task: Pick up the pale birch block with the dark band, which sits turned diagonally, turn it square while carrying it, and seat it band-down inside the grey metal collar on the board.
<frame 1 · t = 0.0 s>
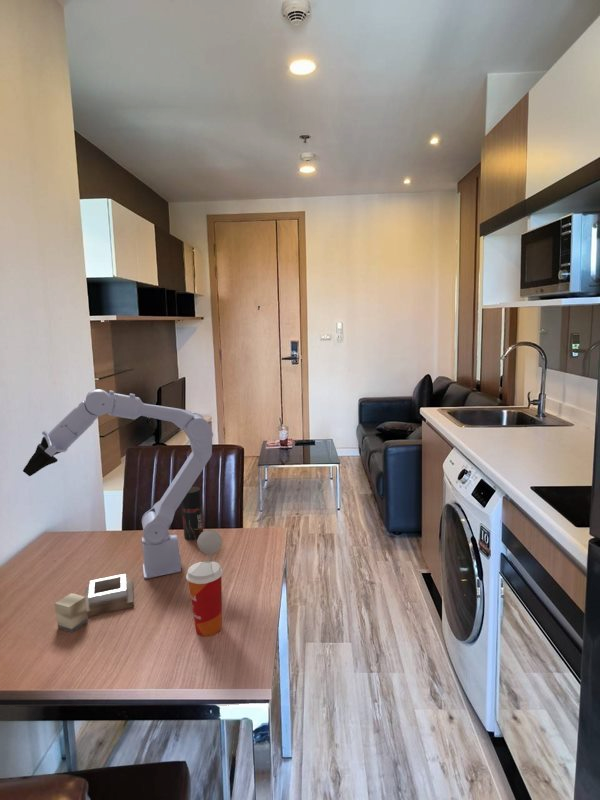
hand: (28, 469, 122), 32 cm above the table, tool tilted 50°, fingers open, 7 cm apart
sleeve block: (73, 624, 113), on the table
deodorant: (194, 536, 157), on the table
paper cup: (208, 629, 109), on the table
lollipop: (213, 587, 127), on the table
collar board: (109, 598, 123), on the table
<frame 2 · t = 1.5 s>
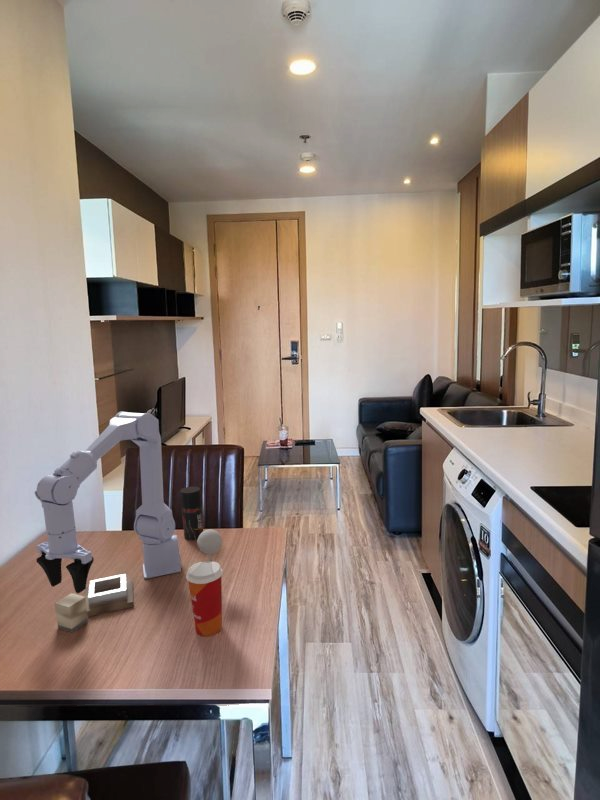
hand: (68, 587, 112), 9 cm above the table, tool pointing down, fingers open, 7 cm apart
nothing on the table moved.
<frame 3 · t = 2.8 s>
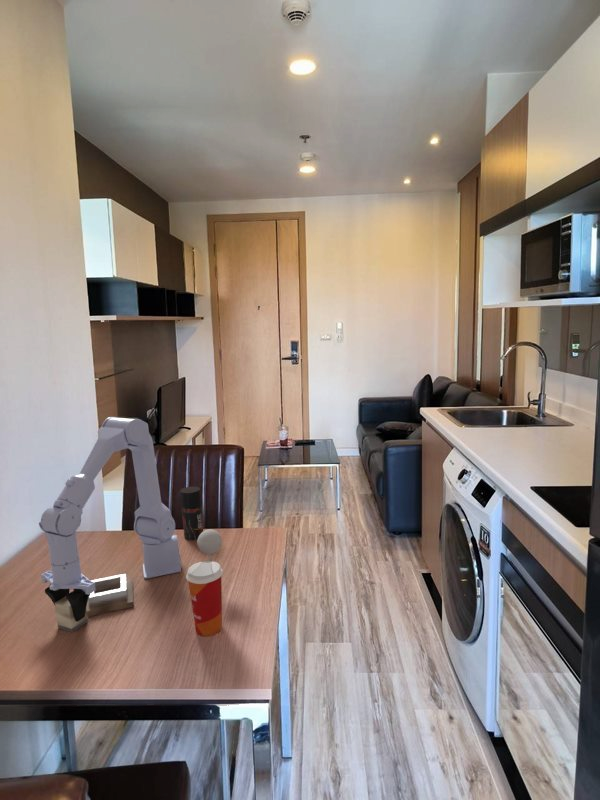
hand: (72, 616, 113), 2 cm above the table, tool pointing down, fingers closed on sleeve block, 4 cm apart
sleeve block: (73, 624, 113), on the table, touching gripper
everything else where it was.
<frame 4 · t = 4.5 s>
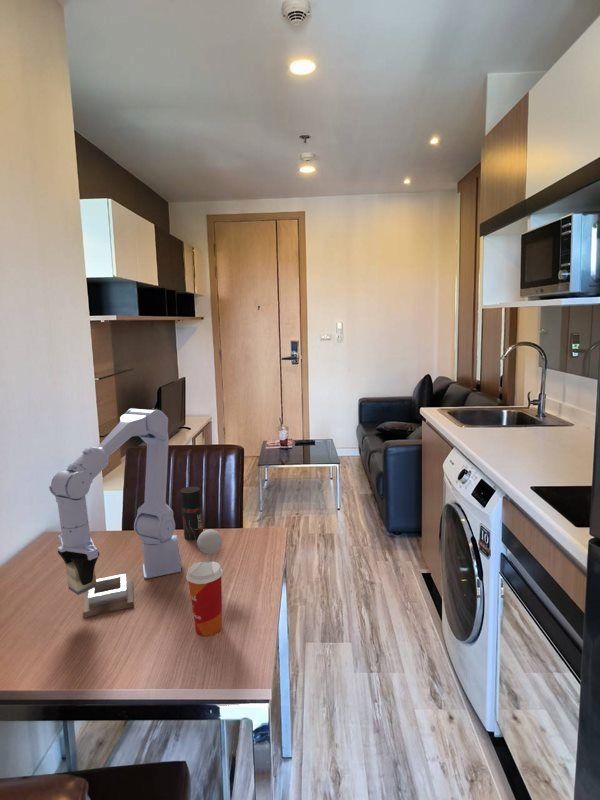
hand: (81, 579, 115), 9 cm above the table, tool pointing down, fingers closed on sleeve block, 4 cm apart
sleeve block: (82, 587, 115), point 7 cm above the table, touching gripper
everything else where it was.
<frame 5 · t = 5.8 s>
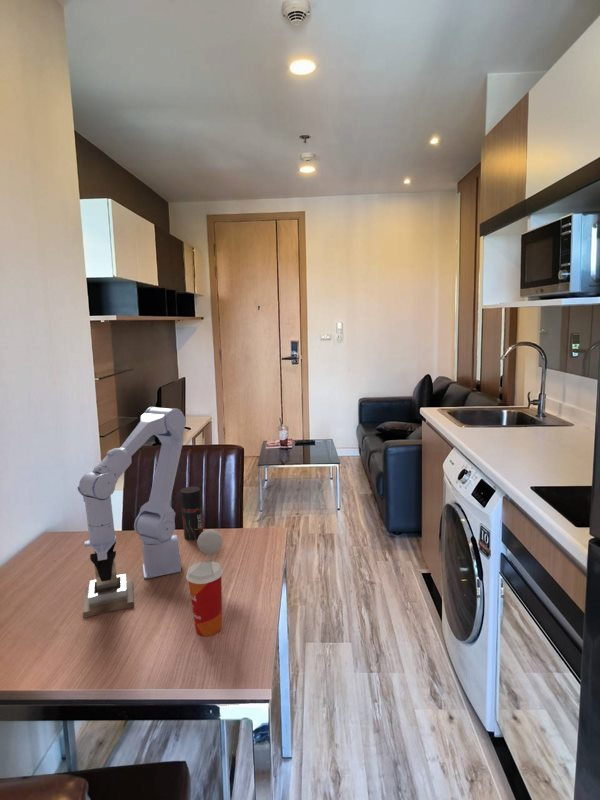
hand: (106, 575, 122), 6 cm above the table, tool pointing down, fingers closed on sleeve block, 4 cm apart
sleeve block: (107, 582, 122), point 4 cm above the table, touching gripper
everything else where it was.
when the fingers open (5 cm above the table, at t = 6.6 s): sleeve block drops 2 cm, resting on collar board.
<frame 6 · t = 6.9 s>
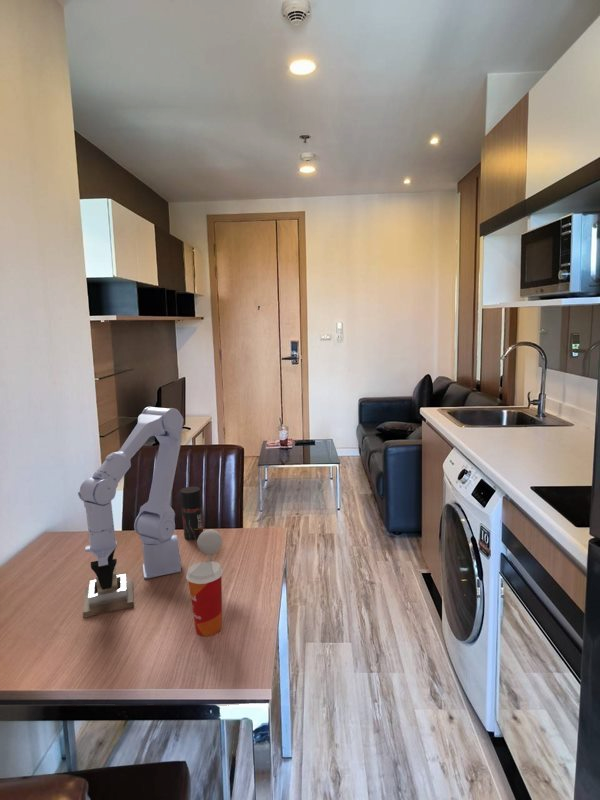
hand: (107, 580, 122), 5 cm above the table, tool pointing down, fingers open, 7 cm apart
sleeve block: (108, 594, 123), point 1 cm above the table, touching collar board
everything else where it was.
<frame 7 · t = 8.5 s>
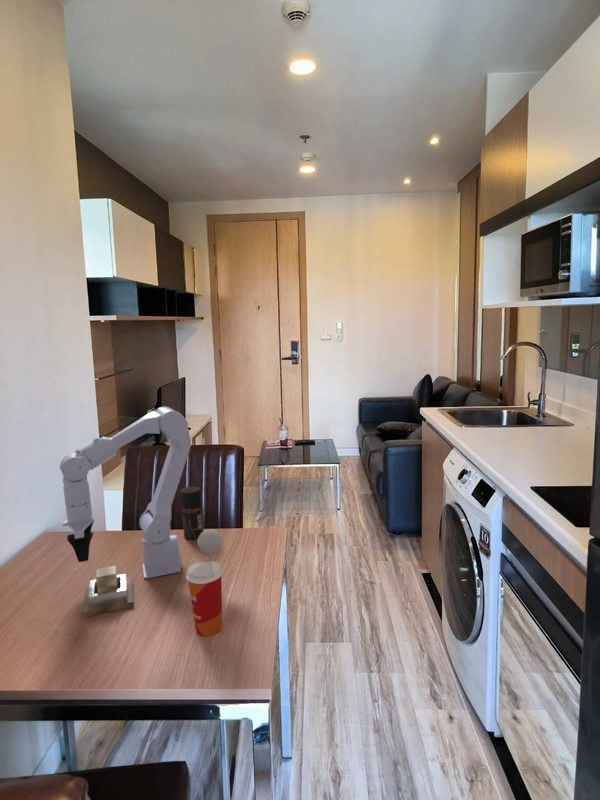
hand: (84, 554, 127), 9 cm above the table, tool pointing down, fingers open, 7 cm apart
nothing on the table moved.
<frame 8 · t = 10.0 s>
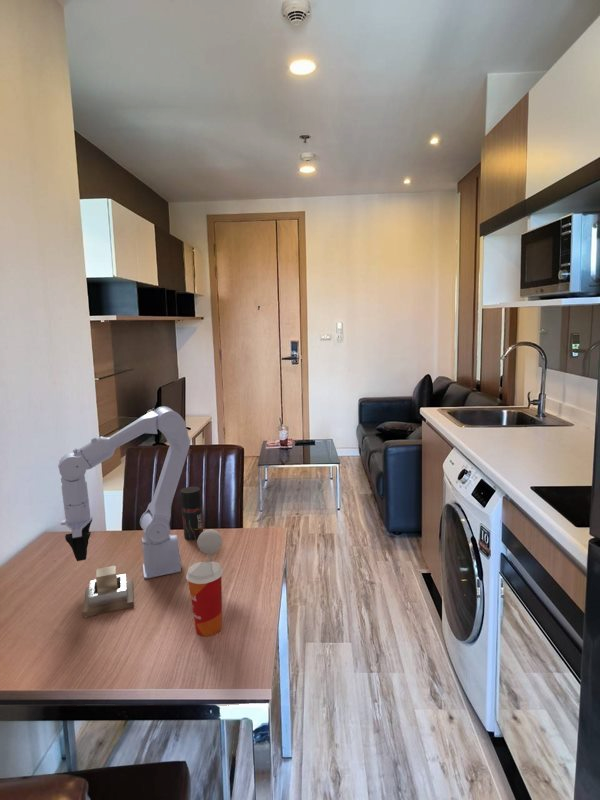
hand: (82, 553, 127), 9 cm above the table, tool pointing down, fingers open, 7 cm apart
nothing on the table moved.
at the end: sleeve block 0.0 cm off-centre on the collar board, point 1.2 cm above the collar board's base; sleeve block tilted 0°; the gripper is holding nothing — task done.
